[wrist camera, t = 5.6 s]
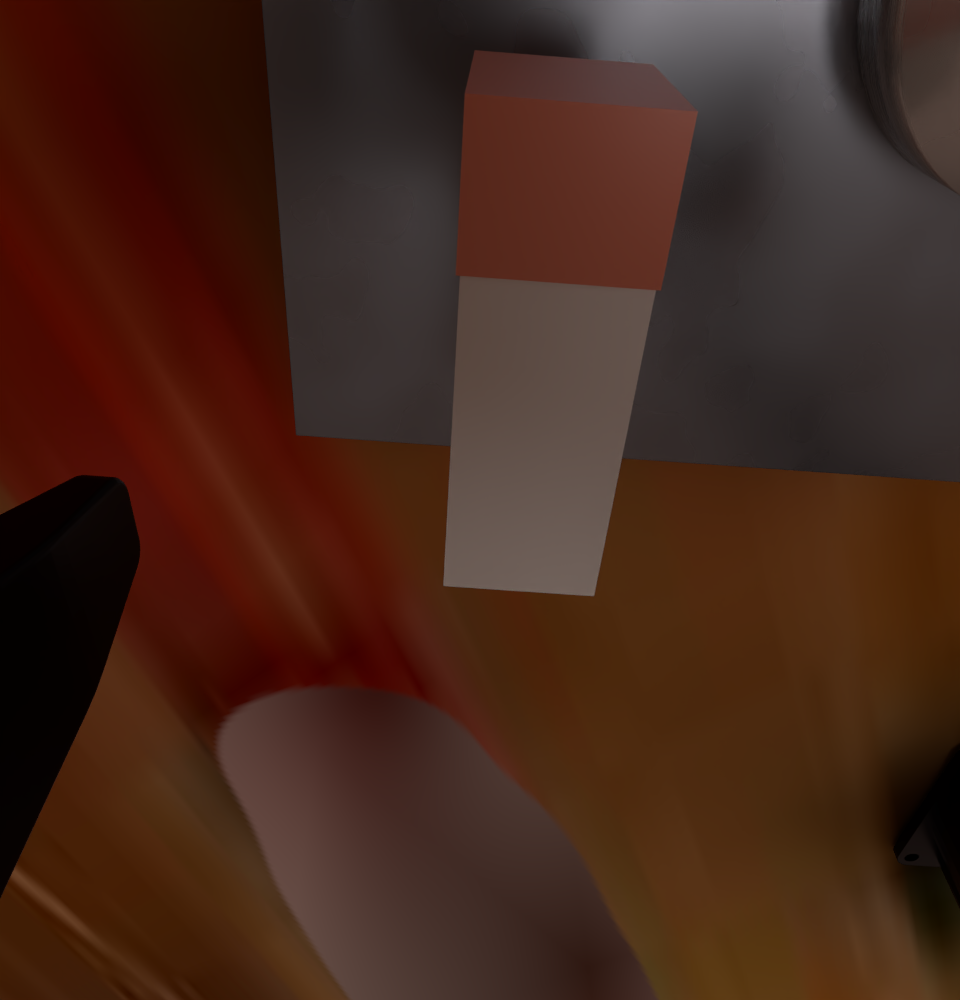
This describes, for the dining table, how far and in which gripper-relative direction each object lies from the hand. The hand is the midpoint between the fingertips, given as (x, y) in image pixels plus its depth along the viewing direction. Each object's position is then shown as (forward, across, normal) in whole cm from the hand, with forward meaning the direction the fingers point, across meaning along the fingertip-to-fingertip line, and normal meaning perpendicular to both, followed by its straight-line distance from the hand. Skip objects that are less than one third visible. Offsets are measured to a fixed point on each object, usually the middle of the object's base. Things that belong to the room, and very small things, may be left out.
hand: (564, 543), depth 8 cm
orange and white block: (+10, 0, 0) cm, 10 cm away
